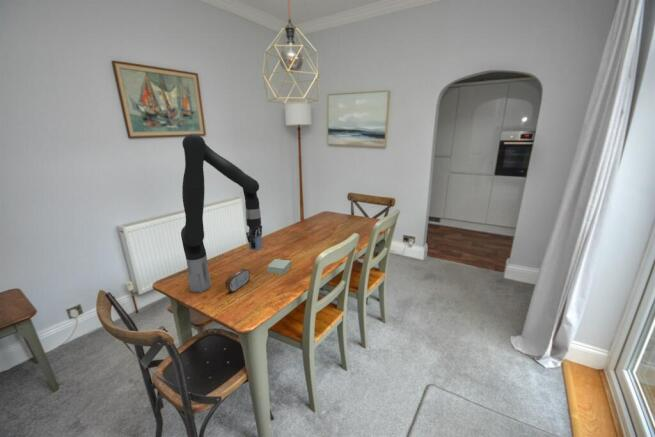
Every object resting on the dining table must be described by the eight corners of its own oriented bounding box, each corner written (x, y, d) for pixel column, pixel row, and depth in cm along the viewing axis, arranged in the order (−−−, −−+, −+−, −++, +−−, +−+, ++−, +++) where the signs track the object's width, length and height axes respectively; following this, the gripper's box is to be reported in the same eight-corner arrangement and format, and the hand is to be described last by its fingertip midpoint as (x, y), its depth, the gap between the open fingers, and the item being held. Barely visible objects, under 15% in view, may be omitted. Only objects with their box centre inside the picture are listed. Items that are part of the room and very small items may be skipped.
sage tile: (284, 275, 156) (283, 268, 154) (267, 273, 158) (267, 266, 157) (291, 266, 165) (290, 260, 164) (275, 265, 167) (274, 259, 166)
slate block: (258, 250, 150) (257, 238, 148) (249, 249, 152) (248, 237, 150) (262, 246, 155) (261, 234, 153) (253, 246, 156) (252, 234, 154)
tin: (247, 279, 151) (245, 265, 148) (251, 280, 149) (250, 266, 147) (225, 293, 138) (223, 278, 135) (230, 295, 137) (228, 279, 134)
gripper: (253, 220, 141) (256, 252, 146) (265, 213, 154) (267, 242, 159) (239, 219, 142) (242, 251, 147) (253, 212, 156) (255, 241, 161)
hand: (255, 246), depth 153 cm, fingers closed on slate block, 5 cm apart
